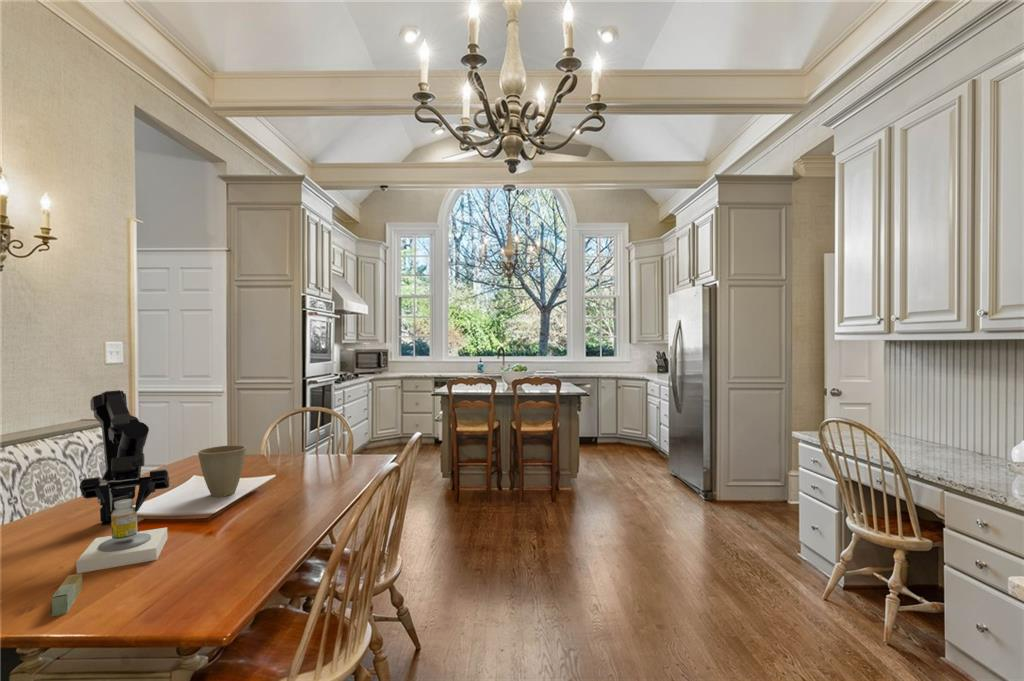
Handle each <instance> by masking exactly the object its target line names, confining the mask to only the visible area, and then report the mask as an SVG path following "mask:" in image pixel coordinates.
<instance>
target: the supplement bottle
mask: <svg viewBox="0 0 1024 681" xmlns="http://www.w3.org/2000/svg"><path fill="white" fill-rule="evenodd" d="M134 505H135V503H134V499H122V500H118V501H115V502H114V508H116V509H115V510H113V511H112V513H111V524H110V526H111V536H112V540H113V541H126V540H130V539H132V538H134V537H136V536H137V532H138V511H137V512H136V511H135V506H134Z"/></svg>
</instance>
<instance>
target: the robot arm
mask: <svg viewBox="0 0 1024 681" xmlns="http://www.w3.org/2000/svg"><path fill="white" fill-rule="evenodd" d="M89 404H90V406H89V407H90V410H91V411H92V412H93V417H94V418H95V419H96V420H97V421H98V423H99V424H101V433H102V443H103V453H104V454H103V455H104V464H105V471H104V474H102V476H96V477H88V478H87V477H86V478H83V479H82V480H81V481H80V483H79V487H78V488H79V491H80V493H81V495H82V497H83V499H93V498H94V499H95V498H96V500H97V504H98V505H100V506H101V508H100V509H99V516H100V518H99V519H100V522H101V523H100V525H101V526H107V525H111V513H112V511H113V510H115V509H116V508H114V502H115V501H118V500H122V499H133V500H134V499H135V497H136V487H138V490H137V491H138V492H137V497H136V501H135V503H134V507H135V511H136V512H137V513H138V511H139V510H140V509H141V506H142V505H143V504H144V502H145V501H146V499H147V498H148V497H149V496H150V495H151V494H152V493H155V492H156V490H164V489H168V488H169V487H170V476H169V472H168V470H167V469H157V470H150V471H149V476H144V477H143V476H142V477H141V473H142V467H144V466H145V453H144V447H145V445H146V442H147V438H148V435H149V431H150V428H149V426H148V425H147V424H146V423H144V422H142V421H140V420H139V419H138V417H137V416H135V415H131V413H130V411H129V409H128V406H127V405H128V403H127V393H124V390H118V389H117V390H108V391H107V390H106V391H104V392H101V393H100V394H97V395H94V396H92V397H91V399H90V401H89Z"/></svg>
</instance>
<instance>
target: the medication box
mask: <svg viewBox="0 0 1024 681" xmlns="http://www.w3.org/2000/svg"><path fill="white" fill-rule="evenodd" d="M82 590H83V573H76V574H69V575H67V577H66V578H65V580H63V581H62V583H61V585H60V586H59V587H58V589H56V591H55V593H54V594H53V596H52V597H51V599H50V600H51V601H50V602H51V603H50V604H51V605H50V617H51V618H53V617H58V616H64V615H66V614H68V612H69V610H70V609H71V607H72V606H73V604H74V603H75V600H77V598H78V596H79V595H80V593H81V592H80V591H82Z"/></svg>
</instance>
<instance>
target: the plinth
mask: <svg viewBox="0 0 1024 681" xmlns="http://www.w3.org/2000/svg"><path fill="white" fill-rule="evenodd" d="M168 539H169V538H168V527H167V526H166V527H161V528H154V529H147V530H140V531H137V536H136V537H134V538H132V539H130V540H126V541H113V540H112V535H108V536H102V537H101V536H100V537H96V538H94V540H93V541H92V542H91V543H90V544H89V546H88V547H87V548H86V549H85V550H84V551H83V553H81V555H80V556H79V557H78V559H77V560H76V562H75V563H76V574H83V573H89V572H95V571H100V570H106V569H112V568H117V567H118V568H119V567H123V566H129V565H134V564H140V563H147V562H150V561H157V560H158V558H159V556H160V554H161V553H162V550H163V548H164V546H165V544H166V543H167V540H168Z"/></svg>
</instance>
